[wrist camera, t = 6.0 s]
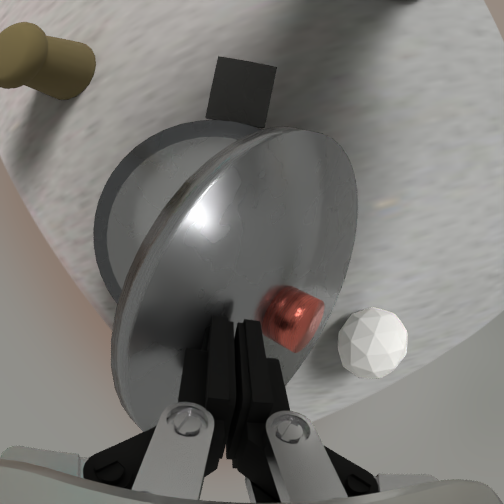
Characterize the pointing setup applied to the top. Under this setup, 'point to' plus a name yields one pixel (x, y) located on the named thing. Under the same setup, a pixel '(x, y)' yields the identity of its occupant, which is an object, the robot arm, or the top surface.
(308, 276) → the lid
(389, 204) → the top surface
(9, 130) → the top surface
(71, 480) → the robot arm
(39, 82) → the cork
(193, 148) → the pot
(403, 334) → the geometric ball
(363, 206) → the top surface
